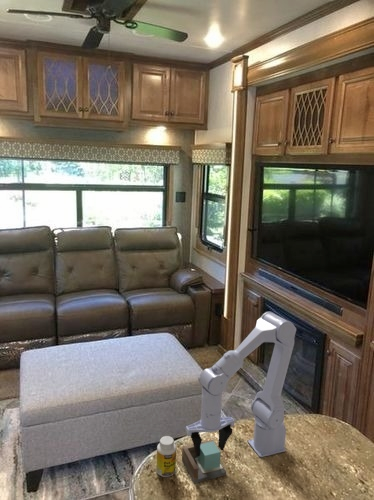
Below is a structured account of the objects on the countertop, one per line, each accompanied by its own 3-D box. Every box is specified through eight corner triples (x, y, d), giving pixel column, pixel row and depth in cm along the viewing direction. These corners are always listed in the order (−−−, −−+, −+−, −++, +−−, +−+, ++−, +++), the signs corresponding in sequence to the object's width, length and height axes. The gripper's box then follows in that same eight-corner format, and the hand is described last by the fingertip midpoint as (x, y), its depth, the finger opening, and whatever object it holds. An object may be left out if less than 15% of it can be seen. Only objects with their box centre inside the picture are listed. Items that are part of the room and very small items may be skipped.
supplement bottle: (162, 481, 118) (163, 449, 116) (153, 468, 122) (153, 438, 120) (179, 473, 121) (180, 442, 119) (169, 461, 125) (170, 431, 123)
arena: (212, 452, 130) (212, 439, 129) (226, 475, 121) (226, 461, 120) (181, 459, 126) (182, 446, 125) (194, 483, 117) (194, 469, 116)
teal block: (212, 455, 127) (213, 441, 126) (219, 466, 122) (220, 451, 121) (197, 459, 125) (198, 444, 124) (204, 470, 120) (204, 455, 119)
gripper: (227, 397, 126) (225, 437, 129) (182, 406, 121) (181, 447, 124) (238, 410, 120) (236, 452, 123) (191, 420, 115) (190, 463, 117)
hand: (209, 451), depth 123 cm, fingers open, 7 cm apart
